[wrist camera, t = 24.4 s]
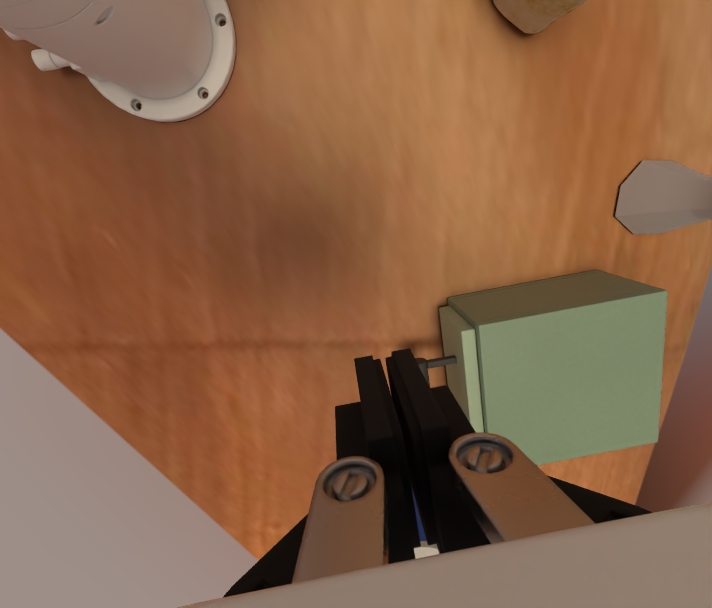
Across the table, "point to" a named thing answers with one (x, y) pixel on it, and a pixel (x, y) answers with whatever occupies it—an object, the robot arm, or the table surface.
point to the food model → (535, 12)
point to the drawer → (459, 365)
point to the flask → (664, 198)
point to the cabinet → (570, 363)
